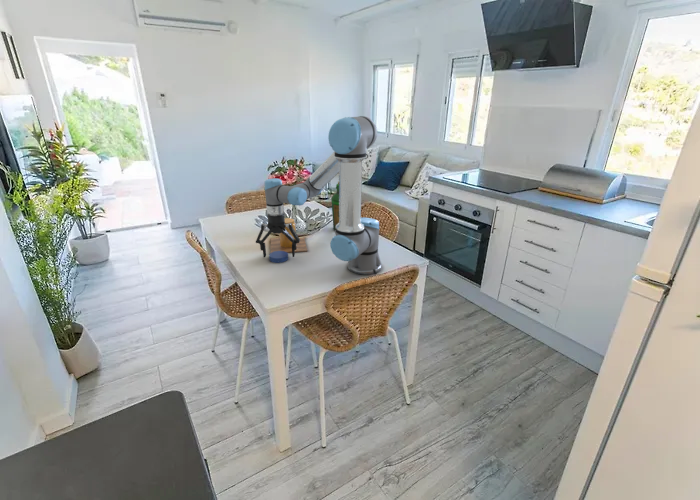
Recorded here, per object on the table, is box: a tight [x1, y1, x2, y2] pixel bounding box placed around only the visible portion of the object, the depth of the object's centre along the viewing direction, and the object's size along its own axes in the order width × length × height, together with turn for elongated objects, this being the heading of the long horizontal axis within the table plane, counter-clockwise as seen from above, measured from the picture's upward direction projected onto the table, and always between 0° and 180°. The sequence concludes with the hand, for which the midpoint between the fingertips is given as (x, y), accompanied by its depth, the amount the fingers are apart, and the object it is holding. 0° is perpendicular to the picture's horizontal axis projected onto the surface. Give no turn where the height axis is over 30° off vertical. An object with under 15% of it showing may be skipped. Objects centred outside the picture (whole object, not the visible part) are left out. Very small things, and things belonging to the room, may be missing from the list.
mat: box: [270, 236, 308, 254], centre depth 181 cm, size 20×18×1 cm
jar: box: [278, 217, 297, 247], centre depth 179 cm, size 8×8×13 cm
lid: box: [268, 251, 289, 264], centre depth 166 cm, size 9×9×2 cm
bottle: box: [330, 181, 339, 231], centre depth 198 cm, size 11×11×28 cm
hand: (279, 256), depth 166 cm, fingers open, 13 cm apart
